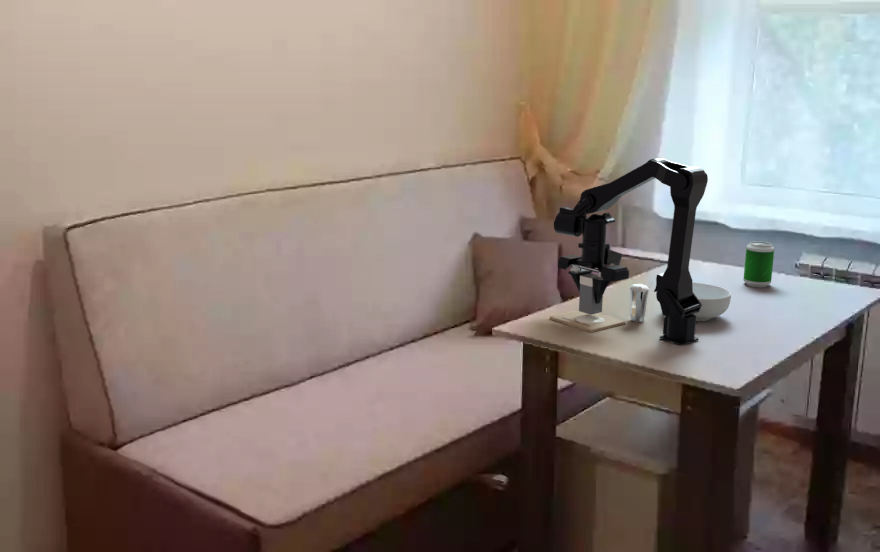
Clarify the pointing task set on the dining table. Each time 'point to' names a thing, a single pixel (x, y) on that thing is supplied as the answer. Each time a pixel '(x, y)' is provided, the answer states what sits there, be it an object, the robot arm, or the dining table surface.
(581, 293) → the grey and white block
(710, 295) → the cereal bowl
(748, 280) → the soda can
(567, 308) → the dining table surface
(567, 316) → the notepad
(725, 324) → the dining table surface
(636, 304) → the milkshake
